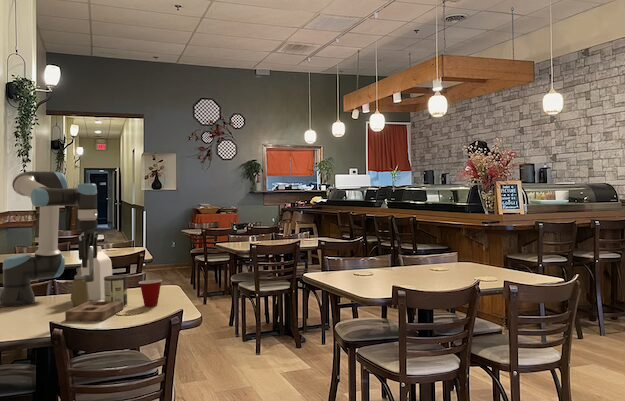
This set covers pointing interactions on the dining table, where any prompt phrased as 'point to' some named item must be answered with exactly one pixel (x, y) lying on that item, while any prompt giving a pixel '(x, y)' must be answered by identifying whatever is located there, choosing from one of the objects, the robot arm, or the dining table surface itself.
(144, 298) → the plastic cup
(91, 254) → the peg
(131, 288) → the dining table surface
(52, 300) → the dining table surface
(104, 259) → the milk
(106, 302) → the hole block
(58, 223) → the robot arm
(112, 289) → the coffee can
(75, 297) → the squeeze bottle
